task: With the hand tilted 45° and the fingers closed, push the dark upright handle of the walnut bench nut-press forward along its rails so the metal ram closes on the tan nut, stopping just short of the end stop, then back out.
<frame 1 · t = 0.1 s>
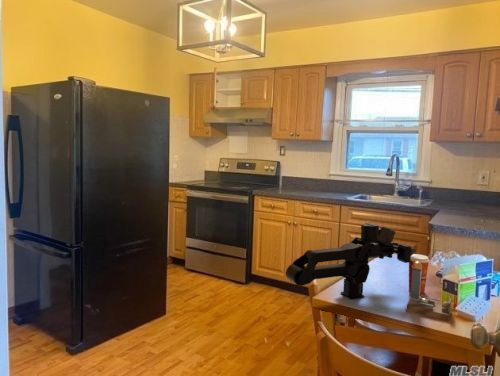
hand: (406, 247, 152), 17 cm above the table, tool horizontal, fingers open, 9 cm apart
press bench: (428, 311, 131), on the table
press handle: (420, 282, 131), point 10 cm above the table, slide at 0.0 cm
paper cup: (416, 291, 150), on the table
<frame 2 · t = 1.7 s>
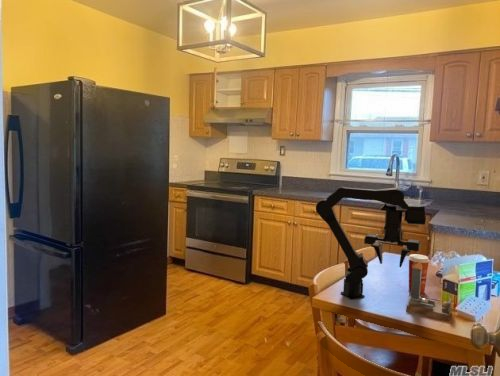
hand: (390, 265, 139), 13 cm above the table, tool pointing down, fingers open, 6 cm apart
nothing on the table moved.
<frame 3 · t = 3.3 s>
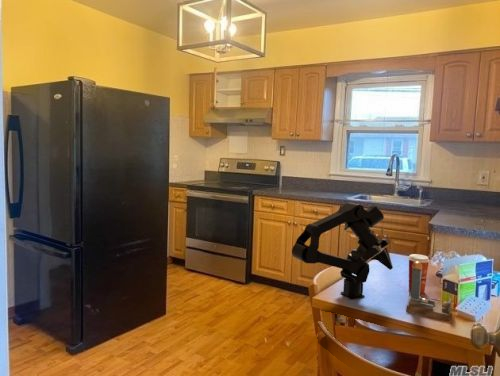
hand: (391, 269, 136), 13 cm above the table, tool tilted 45°, fingers closed
nothing on the table moved.
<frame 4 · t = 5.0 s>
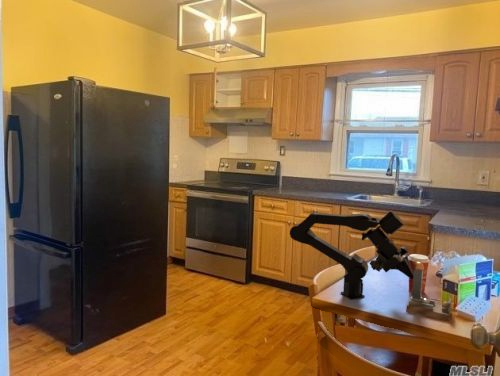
hand: (413, 278, 133), 11 cm above the table, tool tilted 45°, fingers closed, pressing on press handle
press handle: (421, 283, 131), point 9 cm above the table, slide at 0.5 cm, touching gripper
everything else where it was.
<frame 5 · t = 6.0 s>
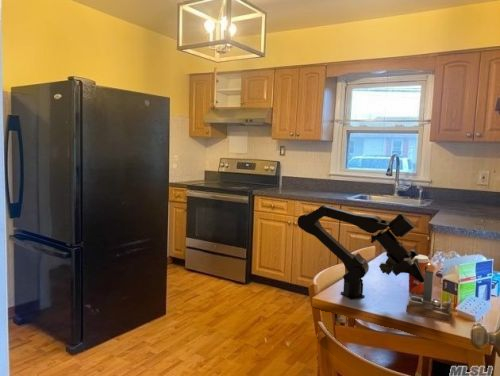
hand: (423, 281, 131), 10 cm above the table, tool tilted 45°, fingers closed, pressing on press handle
press handle: (432, 285, 129), point 9 cm above the table, slide at 3.8 cm, touching gripper
everything else where it was.
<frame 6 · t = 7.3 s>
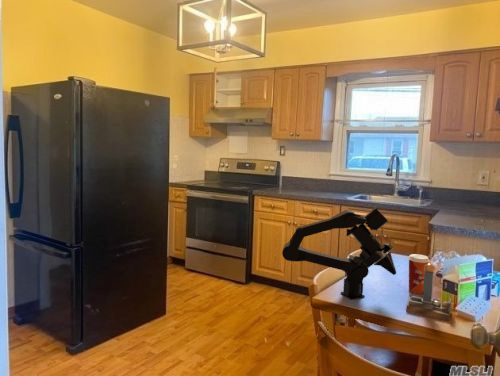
hand: (395, 274, 135), 11 cm above the table, tool tilted 45°, fingers closed
press handle: (432, 285, 129), point 10 cm above the table, slide at 3.8 cm
everything else where it was.
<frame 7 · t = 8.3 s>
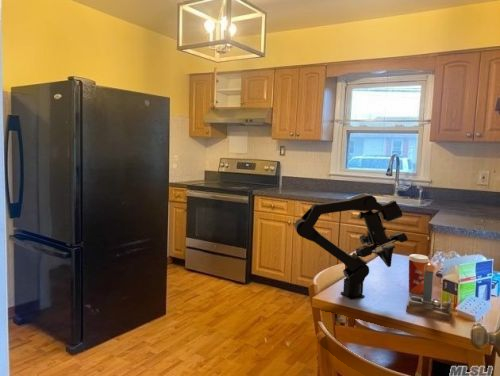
hand: (389, 266, 140), 12 cm above the table, tool tilted 20°, fingers closed
nothing on the table moved.
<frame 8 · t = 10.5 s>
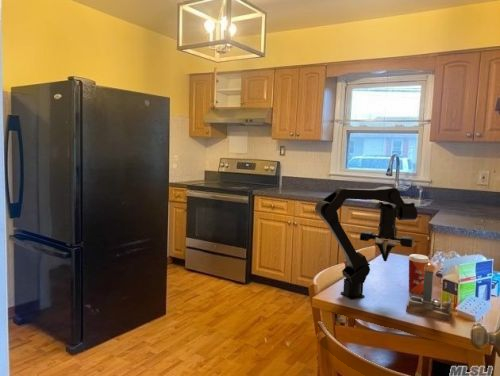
hand: (385, 261, 144), 13 cm above the table, tool pointing down, fingers closed
nothing on the table moved.
at the end: press handle slide at 3.8 cm; press handle touching nothing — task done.
